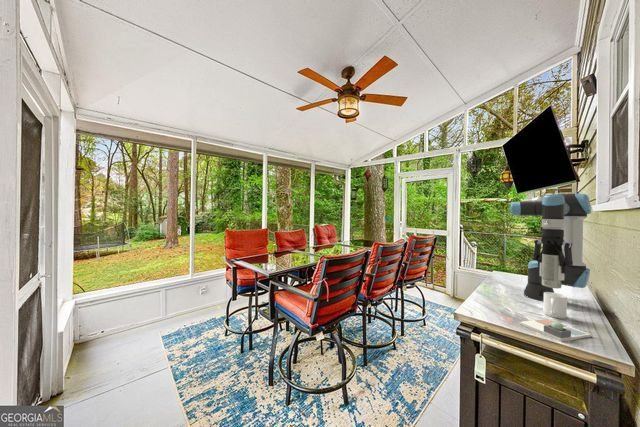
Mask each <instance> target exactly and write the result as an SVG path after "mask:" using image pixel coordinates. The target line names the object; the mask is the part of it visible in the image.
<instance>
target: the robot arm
mask: <svg viewBox="0 0 640 427" xmlns="http://www.w3.org/2000/svg"><path fill="white" fill-rule="evenodd" d="M509 209H510V210H509V212H510V214H511V215H512V216H516V217H517V216H518V217H521V216H522V217H528V216H530V217H531V216H535V217H541V227H542V229H541V239H535V240H533V241H534V249H533V250H534V251H533V258H532V259H533V260H531V261H529V262H528V264H527V283H526V285H525V288H524V290H523V295H524V296H525V295H526V296H528V297H527V298H529V297H530V298H529V299H532V298H534V299H533V300H536V299H538V300H537V301H541V300H542V302H544V292H552V293H555V290H554V288H550V287H545V286H543V285H542V245H543V243H547V244H557V245H558V246H560V245H561V246H562V251H561V252H560V251H559V250H558V249H557V247H556V249H557V251H558V259H559V262H560V266H558V280H560V281H562V285H561V286H566V287H572V288H577V289H579V288H580V289H584V288H586V287H587V286H588V283H589V278H590V274H591V269H590V268H588V267H587V264H586V263H585V262H583V249H584V248H583V247H584V246H583V245H584V242H583V241H584V220H585V219H586V218H588V215H591V214H592V206H591V201H590V198H589V195H587V194H586V193H561V194H560V193H559V194H547V195H541V196H537V197H534V198H532V199H530V200H526V201H525V200H524V201H520V200H519V201H513V202H511V203H510V206H509ZM526 296H525V297H526Z"/></svg>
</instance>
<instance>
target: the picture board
mask: <svg viewBox="0 0 640 427" xmlns="http://www.w3.org/2000/svg"><path fill="white" fill-rule="evenodd" d="M551 322H556V321H555V320H552V319H551V318H550V319H549V318H541V319H540V318H539V319H533V320H523V321H519V322H518V323H519V325H520V326H524V327H526V328H528V329H531V330H532V331H535V332H538V333H539V334H543V335H544V336H547V337H549V338H552V339H554V340H557V341H559V342H567V341H574V340H579V339H584V338H586V339H587V338H591V337H592V334H591V333H588V332H585V331H582V330H580V329H577V328H574V327H573V326H572V327H571V326H570V325H567V324H564V323H562V324H563V331H558V330H556V329H553V328H551Z"/></svg>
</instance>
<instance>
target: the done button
mask: <svg viewBox="0 0 640 427" xmlns="http://www.w3.org/2000/svg"><path fill="white" fill-rule="evenodd" d="M563 324H564V323H561V322H558V321H555V322H551V328H553V329H556V330H558V331H563Z"/></svg>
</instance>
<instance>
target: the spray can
mask: <svg viewBox="0 0 640 427" xmlns="http://www.w3.org/2000/svg"><path fill="white" fill-rule="evenodd" d="M556 247H557V249H558V250H559V251H560V252H561V251H562V246H561V245H560V246H558V245H557V244H547V243H542V245H541V251H542V285H543V286H545V287H550V288H553V289H556V290H557V289H562V286H563V285H562V281H560V280H558V266H560V262H559V259H558V251H557V249H556Z"/></svg>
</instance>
